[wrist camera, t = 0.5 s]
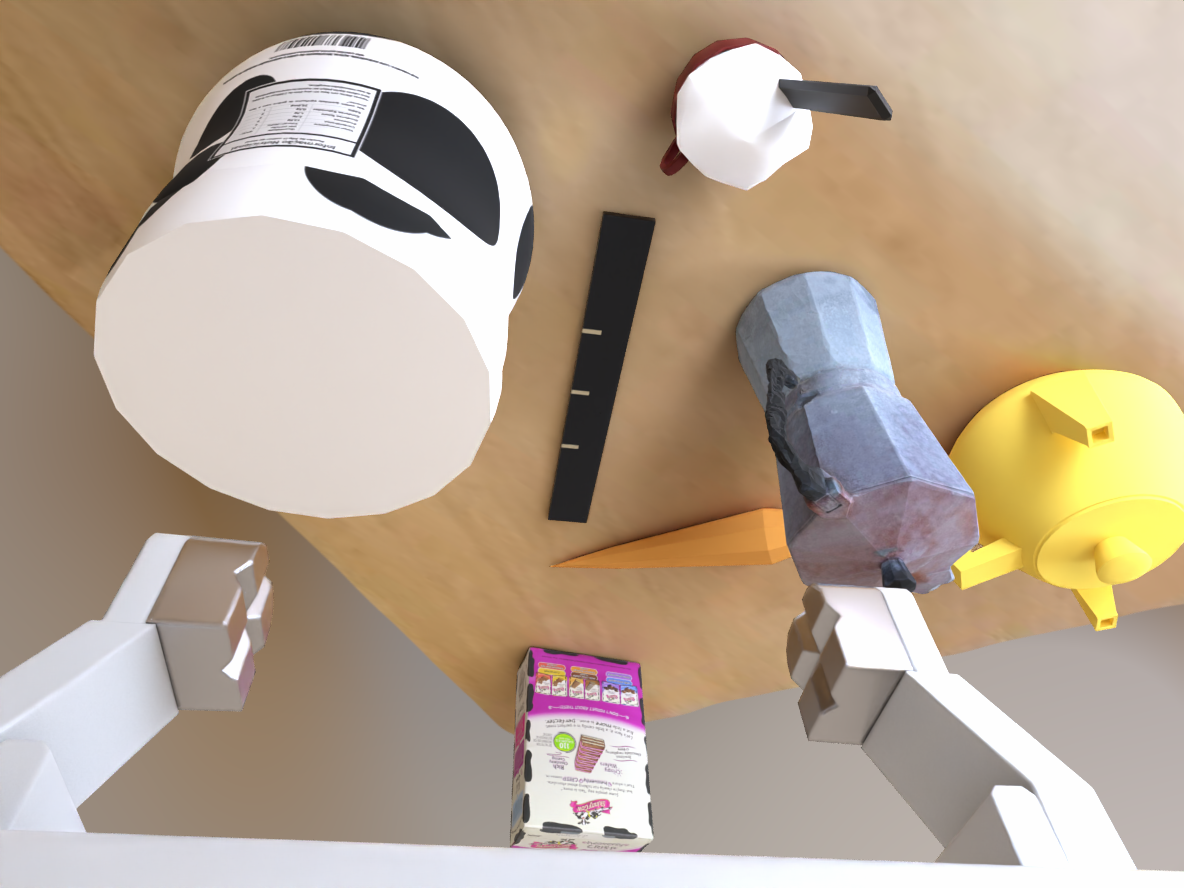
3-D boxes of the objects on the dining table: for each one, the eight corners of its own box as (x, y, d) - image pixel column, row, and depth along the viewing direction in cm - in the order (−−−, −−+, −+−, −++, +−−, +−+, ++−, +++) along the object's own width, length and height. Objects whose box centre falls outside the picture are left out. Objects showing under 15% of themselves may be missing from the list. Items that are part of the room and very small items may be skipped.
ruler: (603, 211, 47) (603, 214, 47) (655, 217, 47) (655, 222, 47) (548, 516, 65) (547, 520, 64) (586, 519, 65) (586, 523, 65)
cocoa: (663, 168, 45) (687, 289, 37) (627, 56, 41) (643, 161, 33) (838, 107, 43) (907, 219, 35) (818, -18, 39) (890, 74, 31)
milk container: (392, 358, 54) (335, 582, 41) (145, 160, 45) (-31, 369, 31) (600, 199, 47) (612, 410, 34) (357, -78, 37) (242, 65, 24)
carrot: (788, 492, 64) (789, 519, 60) (799, 542, 66) (801, 572, 62) (547, 529, 70) (533, 557, 66) (562, 575, 71) (549, 605, 67)
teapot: (879, 484, 63) (929, 617, 54) (1035, 312, 52) (1128, 442, 44) (1052, 535, 67) (1124, 665, 59) (1228, 386, 57) (1347, 517, 48)
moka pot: (815, 426, 59) (896, 679, 44) (657, 308, 52) (692, 562, 37) (931, 342, 54) (1066, 595, 39) (775, 199, 47) (868, 442, 32)
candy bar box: (515, 672, 80) (506, 850, 68) (528, 643, 77) (521, 825, 65) (625, 688, 82) (635, 863, 70) (643, 662, 79) (656, 840, 67)
